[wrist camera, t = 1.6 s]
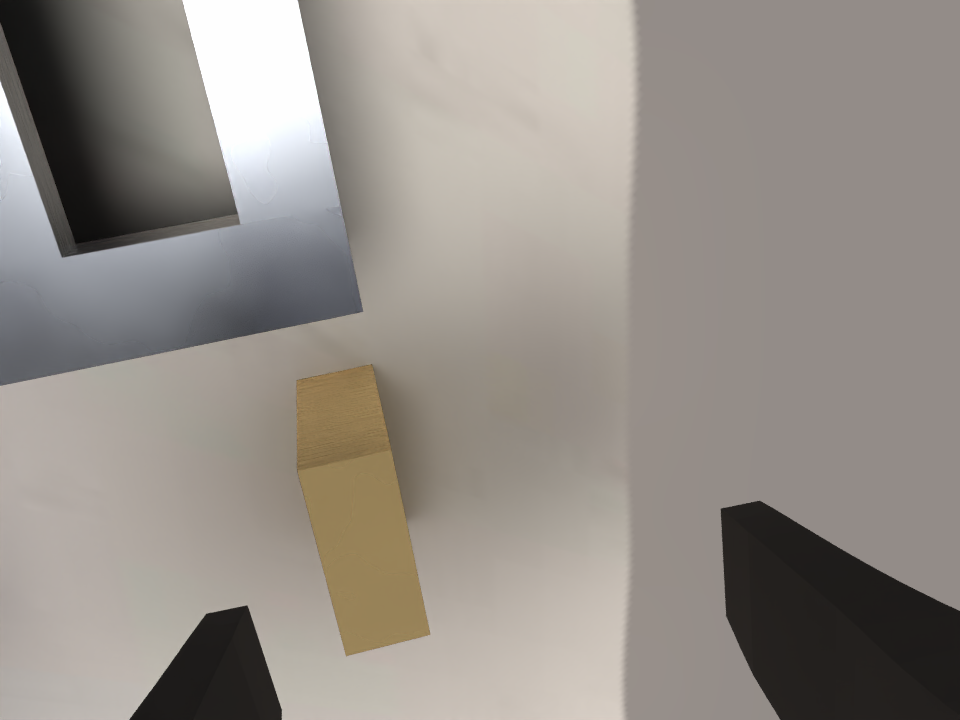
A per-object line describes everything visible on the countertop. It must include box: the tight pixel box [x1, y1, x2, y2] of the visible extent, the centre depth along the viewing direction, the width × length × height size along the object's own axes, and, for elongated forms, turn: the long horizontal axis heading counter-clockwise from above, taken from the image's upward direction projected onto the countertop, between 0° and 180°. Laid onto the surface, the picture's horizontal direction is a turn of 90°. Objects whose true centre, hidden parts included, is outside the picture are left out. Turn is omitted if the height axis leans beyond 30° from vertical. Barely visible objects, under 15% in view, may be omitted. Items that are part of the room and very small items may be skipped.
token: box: [297, 364, 430, 656], centre depth 21 cm, size 5×2×5 cm, turn 8°
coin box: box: [0, 0, 363, 386], centre depth 16 cm, size 10×10×6 cm
